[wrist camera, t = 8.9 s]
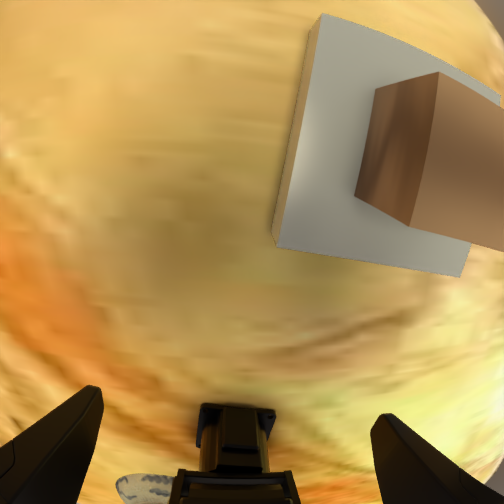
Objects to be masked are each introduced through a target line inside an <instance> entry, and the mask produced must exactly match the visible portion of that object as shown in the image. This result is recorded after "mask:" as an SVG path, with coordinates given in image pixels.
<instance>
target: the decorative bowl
mask: <svg viewBox="0 0 504 504" xmlns="http://www.w3.org/2000/svg"><path fill="white" fill-rule="evenodd" d="M173 478H175V477H171V476H164V475H157V474H130V475H126V476H123V477H121V478H119V479H118V480H117V482H116V489H117V491H118V493H119V495H120V497H121V499H122V500H123V501H124V502H125V504H167V502H168V500H169V497H170V494H171V488H172V480H173Z"/></svg>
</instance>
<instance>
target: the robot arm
mask: <svg viewBox="0 0 504 504" xmlns="http://www.w3.org/2000/svg"><path fill="white" fill-rule="evenodd" d="M206 409H207V410H206ZM103 411H104V403H103V397H102V391H101V389H100V388H99V387H96V386H92V385H87V386H85V387H84V388H83V389H81V390H80V391H79V392H77V393H76V394H74V395H73V396H72V397H70V398H69V399H68V400H66V401H65V402H63V403H62V404H61V405H59V406H58V407H57V408H55V409H54V410H52V411H51V412H50V413H48V414H47V415H45V416H44V417H43V418H41V419H40V420H38V421H37V422H36V423H34V424H33V425H32V426H30V427H29V428H27V429H26V430H25V431H23V432H22V433H20V434H19V435H18V436H16V437H15V438H13V440H10V441H9V442H8V443H6V444H5V445H3V446H2V447H0V504H76V503H77V500H78V497H79V494H80V491H81V488H82V485H83V482H84V479H85V476H86V473H87V470H88V467H89V464H90V462H91V459H92V456H93V453H94V450H95V445H96V441H97V437H98V432H99V428H100V424H101V420H102V416H103ZM269 415H271V416H269ZM275 419H276V412H275V411H273V410H261V409H249V408H238V407H228V406H219V405H211V404H202V405H201V406H200V413H199V421H198V430H197V438H196V447H198V448H201V449H200V461H199V471H188V470H186V469H178V474H177V476H175V478H173V480H172V488H171V494H170V497H169V500H168V502H167V504H301V502H300V498H299V495H298V492H297V488H296V485H295V482H294V478H293V475H292V472H291V470H288V471H284V472H270V469H269V460H268V450H267V440H268V438H269V435H270V432H271V430H272V427H273V424H274V422H275ZM370 437H371V444H372V451H373V458H374V466H375V471H376V476H377V480H378V484H379V488H380V493H381V497H382V501H383V504H504V496H502V495H501V494H499V493H497V492H496V491H494V490H492V489H490V488H489V487H487V486H486V485H484V484H483V483H481V482H479V481H478V480H476V479H475V478H473V477H472V476H471V475H469V474H468V473H467V472H465V471H464V470H463V469H461V468H459V466H457V465H456V464H455V463H454V462H452V461H451V460H450V459H449V458H447V457H446V456H445V455H443V454H442V453H441V452H440V451H438V450H437V449H436V448H435V447H433V446H432V445H431V444H430V443H428V442H427V441H426V440H425V439H423V438H422V437H421V436H420V435H418V434H417V433H416V432H415V431H413V430H412V429H411V428H410V427H408V426H407V425H406V424H405V423H403V422H402V421H401V420H400V419H399V418H397V417H396V416H395V415H394V414H392V413H386V414H381V415H380V416H379V417H378V419H377V420H376V422H375V424H374V425H373V427H372V428H371V432H370Z"/></svg>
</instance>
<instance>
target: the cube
mask: <svg viewBox="0 0 504 504" xmlns="http://www.w3.org/2000/svg"><path fill="white" fill-rule="evenodd" d="M354 196H355V197H357V198H358V199H360V200H362V201H364V202H366V203H368V204H369V205H371V206H373V207H375V208H377V209H379V210H380V211H382V212H384V213H386V214H387V215H389V216H391V217H393V218H394V219H396V220H398V221H400V222H401V223H403V224H405V225H406V226H408V227H411V228H415V229H419V230H423V231H427V232H431V233H435V234H439V235H443V236H447V237H451V238H455V239H458V240H462V241H466V242H469V243H473V244H477V245H480V246H484V247H487V248H491V249H494V250H498V251H501V252H504V109H502V108H501V107H499V106H498V105H496V104H495V103H493V102H492V101H490V100H489V99H487V98H485V97H484V96H482V95H481V94H479V93H477V92H476V91H474V90H472V89H470V88H469V87H467V86H465V85H464V84H462V83H460V82H458V81H456V80H454V79H453V78H451V77H449V76H447V75H445V74H443V73H441V72H435V73H431V74H427V75H423V76H419V77H415V78H411V79H408V80H404V81H400V82H397V83H393V84H390V85H386V86H383V87H380V88H376V89H375V94H374V100H373V106H372V112H371V117H370V123H369V128H368V133H367V138H366V143H365V148H364V153H363V158H362V163H361V167H360V172H359V176H358V181H357V185H356V189H355V194H354Z"/></svg>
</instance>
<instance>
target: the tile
mask: <svg viewBox="0 0 504 504" xmlns="http://www.w3.org/2000/svg"><path fill="white" fill-rule="evenodd" d="M435 72H441V73H443V74H445V75H447V76H449V77H451V78H453V79H454V80H456V81H458V82H460V83H462V84H464V85H465V86H467V87H469V88H470V89H472V90H474V91H476V92H477V93H479V94H481V95H482V96H484V97H485V98H487V99H489V100H490V101H492V102H493V103H495V104H496V105H498V106H499V107H500V98H501V95H499V94H498V93H496V92H495V91H493V90H492V89H490V88H489V87H487V86H486V85H484V84H483V83H481V82H479V81H478V80H476V79H475V78H473V77H471V76H470V75H468V74H466V73H464V72H463V71H461V70H459V69H457V68H456V67H454V66H452V65H450V64H448V63H446V62H445V61H443V60H441V59H439V58H437V57H435V56H433V55H431V54H429V53H427V52H425V51H423V50H421V49H419V48H416V47H414V46H412V45H410V44H408V43H405V42H403V41H401V40H398V39H396V38H394V37H391V36H389V35H386V34H384V33H381V32H378V31H376V30H373V29H370V28H368V27H365V26H362V25H359V24H356V23H353V22H350V21H347V20H344V19H341V18H338V17H334V16H331V15H328V14H324V13H322V14H321V15H320V17H319V18H318V19H317V21H316V22H315V23H314V25H313V26H312V28H311V29H310V32H309V38H308V43H307V49H306V54H305V60H304V65H303V70H302V76H301V81H300V86H299V92H298V97H297V102H296V107H295V113H294V118H293V123H292V128H291V133H290V138H289V144H288V149H287V154H286V159H285V164H284V169H283V174H282V179H281V184H280V189H279V194H278V199H277V204H276V209H275V214H274V219H273V223H272V228H271V233H272V236H273V239H274V241H275V244H276V247H278V248H284V249H290V250H297V251H303V252H309V253H315V254H321V255H327V256H334V257H340V258H346V259H352V260H358V261H364V262H370V263H376V264H382V265H388V266H394V267H400V268H406V269H412V270H418V271H424V272H430V273H436V274H441V275H447V276H453V277H459V278H460V276H461V273H462V270H463V267H464V265H465V262H466V259H467V256H468V253H469V250H470V247H471V244H472V243H469V242H466V241H462V240H458V239H455V238H451V237H447V236H443V235H439V234H435V233H431V232H427V231H423V230H419V229H415V228H411V227H408V226H406V225H405V224H403V223H401V222H400V221H398V220H396V219H394V218H393V217H391V216H389V215H387V214H386V213H384V212H382V211H380V210H379V209H377V208H375V207H373V206H371V205H369V204H368V203H366V202H364V201H362V200H360V199H358V198H357V197H355V196H354V194H355V189H356V185H357V181H358V176H359V172H360V167H361V163H362V158H363V153H364V148H365V143H366V138H367V133H368V128H369V123H370V117H371V112H372V106H373V100H374V94H375V89H376V88H380V87H383V86H386V85H390V84H393V83H397V82H400V81H404V80H408V79H411V78H415V77H419V76H423V75H427V74H431V73H435Z"/></svg>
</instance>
